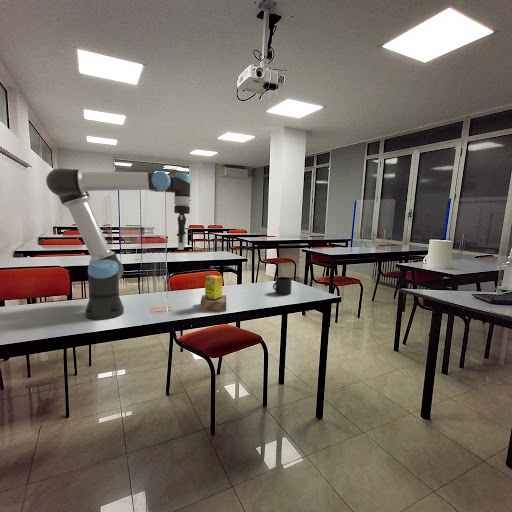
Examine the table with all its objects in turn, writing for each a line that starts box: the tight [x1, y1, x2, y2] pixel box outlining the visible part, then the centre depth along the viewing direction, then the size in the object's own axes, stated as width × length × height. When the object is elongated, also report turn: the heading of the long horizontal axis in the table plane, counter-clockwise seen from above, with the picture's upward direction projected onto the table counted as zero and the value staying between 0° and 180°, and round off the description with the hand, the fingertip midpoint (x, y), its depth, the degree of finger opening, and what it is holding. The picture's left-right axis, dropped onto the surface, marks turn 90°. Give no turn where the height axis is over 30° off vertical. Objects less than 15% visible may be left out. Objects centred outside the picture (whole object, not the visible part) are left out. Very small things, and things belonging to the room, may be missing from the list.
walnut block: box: [199, 294, 227, 312], centre depth 147 cm, size 12×12×5 cm
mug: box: [272, 276, 292, 296], centre depth 177 cm, size 9×12×9 cm
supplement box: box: [204, 274, 223, 300], centre depth 146 cm, size 6×6×11 cm
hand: (181, 248), depth 151 cm, fingers open, 13 cm apart
